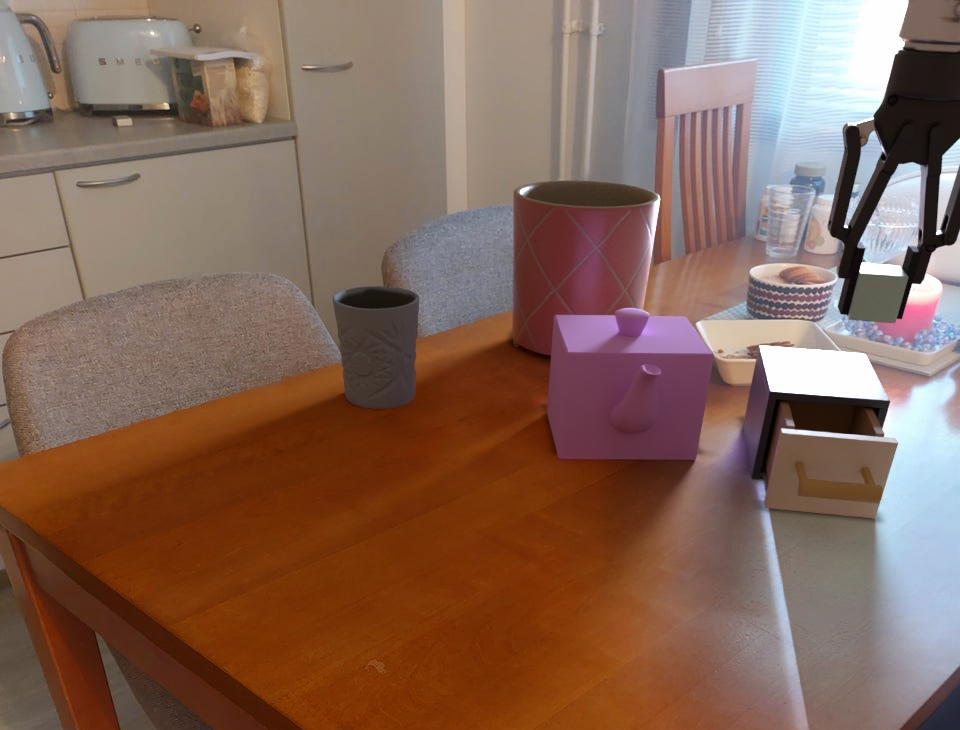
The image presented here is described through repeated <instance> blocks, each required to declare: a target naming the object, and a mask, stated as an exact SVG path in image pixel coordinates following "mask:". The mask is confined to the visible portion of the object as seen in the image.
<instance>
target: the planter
mask: <svg viewBox="0 0 960 730" xmlns="http://www.w3.org/2000/svg"><path fill="white" fill-rule="evenodd" d="M512 197H513V198H512V199H513V200H512V201H513V203H512V205H513V209H512V211H513V213H512V312H511V313H512V315H511V317H512V318H511V319H512V321H511V323H512V325H511V326H512V327H511V328H512V341H513V346H514V347H515V348H518V347H519V346H521V347H522V348H524V349H526V350H528V351H531V352H534V353H538V354H541V355H546V356H550V357H551V351H552V336H553V322H554V316H555V315H615V312H616V311H617V310H620V309H624V308H636V309H641V310H644V305H645V299H646V292H647V286H648V281H649V276H650V275H649V274H650V268H651V262H652V258H653V257H652V256H653V250H654V243H655V235H656V231H657V230H656V229H657V222H658V216H659V209H660V203H661V196H660V195H659V194H658V193H656V192H655V191H653V190H650V189H647V188H644V187H640V186H636V185H631V184H626V183H619V182H611V181H610V182H609V181H601V180H600V181H599V180H579V179H578V180H575V179H574V180H572V179H571V180H568V179H567V180H566V179H565V180H548V181H547V180H546V181H538V182H531V183H526V184H522V185H520V186H517V187H515V189H514V190H513V196H512Z"/></svg>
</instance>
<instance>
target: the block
mask: <svg viewBox="0 0 960 730" xmlns="http://www.w3.org/2000/svg"><path fill="white" fill-rule="evenodd" d="M908 278H909V277H908V275H907V274H906V273H905V271H904V270H903V269H902V265H899V264H883V263H871V262H862V264H861V268H860V271H859V275H858V279H857V283H856V286H855V290H854V294H853V298H852V302H851V306H850V310H849V314H848V315H846V316H847V319H848V320H849V321H860V322H871V323H883V324H893V325H895V324H896V323H897V320H898V319H897V316H898V312H899V309H900V305H901V302H902V298H903V295H904V291H905V288H906V284H907V281H908Z"/></svg>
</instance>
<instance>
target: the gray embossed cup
mask: <svg viewBox="0 0 960 730" xmlns="http://www.w3.org/2000/svg"><path fill="white" fill-rule="evenodd" d="M332 304H333V310H334V318H335V322H336V327H337V338H338V340H339V343H340V344H339V354H340V357H341V358H340V359H341V366H342V379H343V380H342V381H343V386H344V393H345V394H344V395H345V398H346V400H347V401H348V402H349V403H350V404H352V405H354V406H357V407H359V408H364V409H369V410H390V409H396V408H400V407H403V406H406V405H408V404H410V403H411V402H413V400H414V399H415V395H416V383H417V382H416V378H417V377H416V376H417V372H416V365H415V364H416V359H417V352H416V349H417V344H416V343H417V338H418V328H419V312H420V311H419V310H420V295H419V294H417V293H416V292H415V291H412V290H410V289H406V288H401V287H395V286H385V285H384V286H383V285H381V286H380V285H374V286H373V285H372V286H358V287H352V288H348V289H344V290H341V291H338V292H337V293H335V294H334V295H333V296H332Z"/></svg>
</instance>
